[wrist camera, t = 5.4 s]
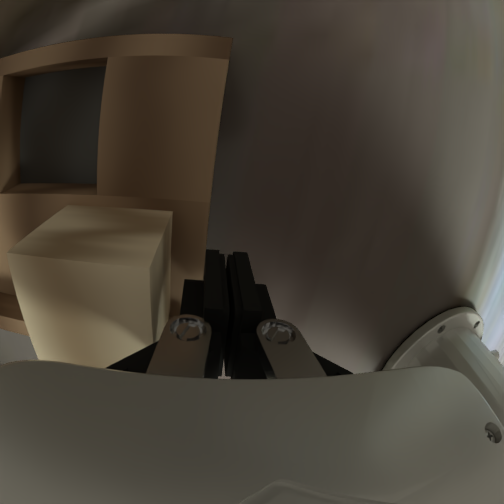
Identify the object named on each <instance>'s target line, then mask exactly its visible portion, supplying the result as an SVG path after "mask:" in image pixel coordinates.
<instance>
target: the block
mask: <svg viewBox="0 0 504 504" xmlns="http://www.w3.org/2000/svg"><path fill="white" fill-rule="evenodd" d="M172 216H173V211H161V210H147V209H132V208H116V207H98V206H78V205H67V206H66V207H64V208H63V209H62V210H60V211H59V212H57V213H56V214H55V215H53V216H52V217H51V218H49V219H48V220H47V221H45V222H44V223H43V224H41V225H40V226H39V227H37V228H36V229H35V230H34V231H32V232H31V233H30V234H28V235H27V236H26V237H25V238H24V239H22V240H21V241H20V242H19V243H17V244H16V245H15V246H14V247H13V248H11V249H10V250H9V251H8V252H7V258H8V263H9V267H10V272H11V276H12V280H13V284H14V288H15V291H16V295H17V299H18V302H19V305H20V309H21V312H22V315H23V318H24V321H25V324H26V327H27V330H28V333H29V336H30V338H31V341H32V344H33V346H34V349H35V351H36V354H37V356H38V359H39V360H50V361H60V362H67V363H73V364H79V365H86V366H93V367H100V368H106V367H108V366H109V365H111V364H113V363H115V362H117V361H119V360H121V359H123V358H125V357H127V356H129V355H131V354H133V353H135V352H137V351H139V350H141V349H143V348H145V347H147V346H149V345H151V344H153V343H155V342H157V341H158V340H159V339H160V336H161V334H162V332H163V329H164V327H165V324H166V323H167V322H168V319H169V313H170V272H171V237H172Z"/></svg>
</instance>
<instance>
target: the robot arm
mask: <svg viewBox="0 0 504 504" xmlns="http://www.w3.org/2000/svg"><path fill="white" fill-rule="evenodd" d="M482 335H483V320H482V318H481V317H480V315H479V314H478V313H477V312H476V311H474V310H473V309H472V308H469V307H457V308H454V309H451V310H448V311H446V312H444V313H442V314H439V315H438V316H436V317H434V318H433V319H431V320H430V321H428V322H427V323H425V324H424V325H423V326H422V327H420V328H419V329H418V330H416V331H415V332H414V333H413V334H412V335H411V336H410V337H409V338H408V339H406V340H405V341H404V343H403V344H402V345H401V346H400V347H399V348H398V349H397V350H396V351H395V353H394V354H393V355H392V356H391V358H390V359H389V360H388V362H387V363H386V365H385V367H384V368H383V370H382V371H376V372H368V373H359V374H353V373H351V372H350V371H348V370H346V369H344V368H342V367H340V366H338V365H336V364H334V363H332V362H331V361H329V360H327V359H325V358H323V357H321V356H319V355H317V354H315V353H314V352H312V350H311V349H310V347H309V346H308V344H307V342H306V341H305V339H304V337H303V336H302V334H301V332H300V331H299V330H298V328H297V327H296V326H294V325H293V324H291V323H290V322H287V321H285V320H280V319H276V316H275V313H274V309H273V306H272V303H271V300H270V297H269V293H268V290H267V287H266V285H264V284H255V281H254V277H253V273H252V269H251V266H250V262H249V258H248V254H247V253H246V252H233V255H228V257H227V265H226V267H225V257H224V254H219V250H209V249H206V252H205V263H204V276H203V280H191V279H184V286H183V293H182V301H181V309H180V315H178V316H175V317H173V318H171V319H170V320H168V322H167V323H166V324H165V327H164V329H163V332H162V334H161V336H160V339H159V340H158V341H157V342H155V343H153V344H151V345H149V346H147V347H145V348H143V349H141V350H139V351H137V352H135V353H133V354H131V355H129V356H127V357H125V358H123V359H121V360H119V361H117V362H115V363H113V364H111V365H109V366H108V367H106V368H100V367H93V366H86V365H79V364H73V363H67V362H60V361H50V360H24V361H15V362H10V363H6V364H3V365H1V366H0V504H504V367H503V365H502V364H501V363H500V362H499V361H498V359H499V352H498V351H497V350H493V351H490V350H489V349H488V348H487V347H486V346H485V345H484V344H483V342H482V341H481V339H482ZM223 360H224V365H225V376H231V379H218V376H222V368H223Z"/></svg>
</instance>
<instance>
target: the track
mask: <svg viewBox="0 0 504 504" xmlns="http://www.w3.org/2000/svg"><path fill="white" fill-rule="evenodd" d="M232 41H233V38H229V37H220V36H208V35H193V34H133V35H117V36H106V37H97V38H89V39H82V40H75V41H69V42H64V43H58V44H53V45H49V46H44V47H40V48H36V49H32V50H28V51H24V52H20V53H17V54H13V55H10V56H7V57H4V58H0V329H4V330H8V331H11V332H15V333H19V334H23V335H27V336H29V333H28V330H27V327H26V324H25V321H24V318H23V315H22V312H21V309H20V305H19V302H18V299H17V295H16V291H15V288H14V284H13V280H12V276H11V272H10V267H9V263H8V258H7V252H8V251H9V250H10V249H11V248H13V247H14V246H15V245H16V244H17V243H19V242H20V241H21V240H22V239H24V238H25V237H26V236H27V235H28V234H30V233H31V232H32V231H34V230H35V229H36V228H37V227H39V226H40V225H41V224H43V223H44V222H45V221H47V220H48V219H49V218H51V217H52V216H53V215H55V214H56V213H57V212H59V211H60V210H62V209H63V208H64V207H66V206H67V205H78V206H98V207H116V208H132V209H147V210H161V211H173V216H172V237H171V272H170V313H169V319H168V320H170V319H171V318H173V317H175V316H178V315H180V309H181V301H182V293H183V286H184V279H191V280H203V276H204V263H205V252H206V243H207V231H208V221H209V210H210V201H211V191H212V182H213V173H214V165H215V156H216V148H217V140H218V133H219V125H220V118H221V111H222V104H223V97H224V90H225V84H226V77H227V71H228V65H229V59H230V53H231V47H232Z"/></svg>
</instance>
